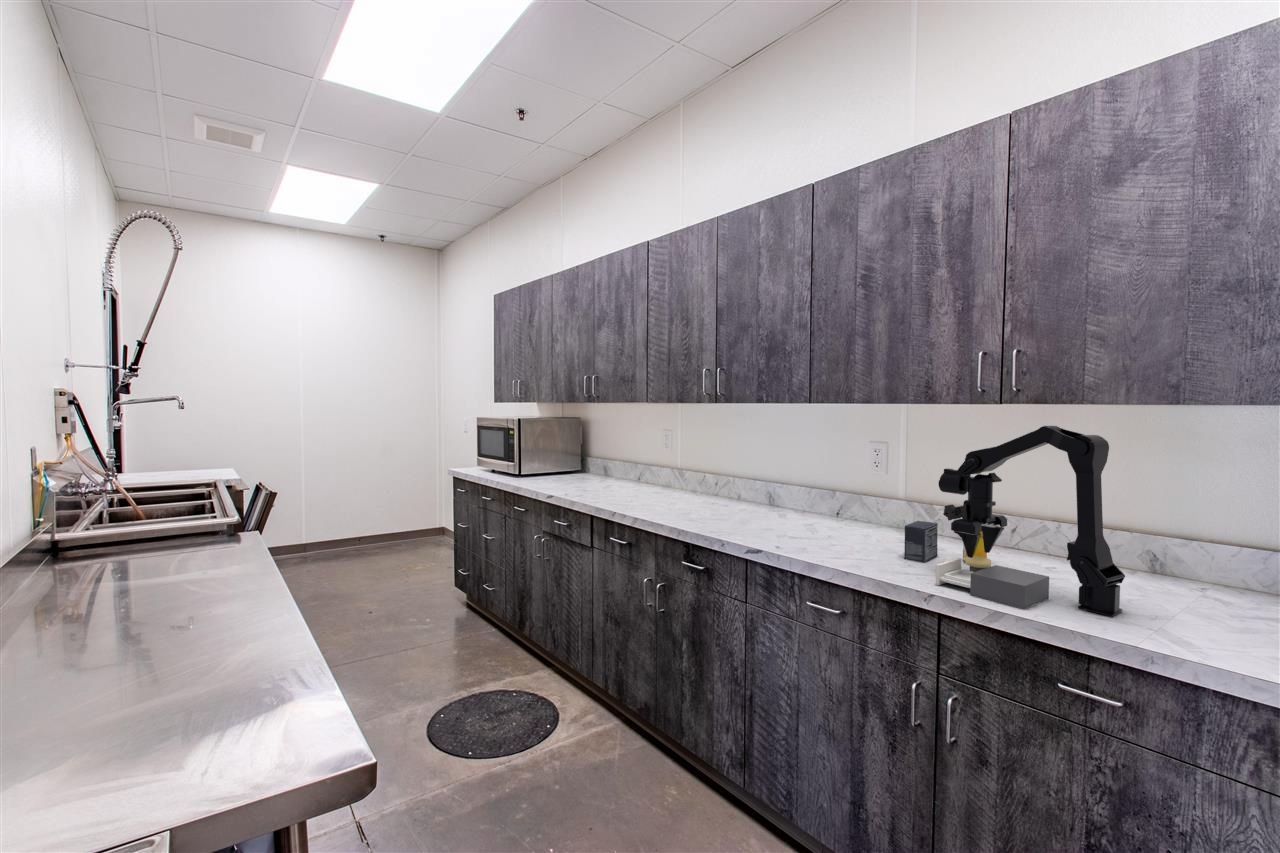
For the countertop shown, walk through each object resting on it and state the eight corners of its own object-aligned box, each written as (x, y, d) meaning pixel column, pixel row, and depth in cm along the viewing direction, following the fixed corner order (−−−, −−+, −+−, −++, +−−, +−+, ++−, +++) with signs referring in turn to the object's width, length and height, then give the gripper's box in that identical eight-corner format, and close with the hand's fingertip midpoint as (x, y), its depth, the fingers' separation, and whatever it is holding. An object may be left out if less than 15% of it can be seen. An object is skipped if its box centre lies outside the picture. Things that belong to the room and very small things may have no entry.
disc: (995, 565, 157) (995, 559, 156) (984, 569, 153) (984, 563, 153) (972, 560, 161) (972, 555, 161) (961, 564, 158) (961, 558, 158)
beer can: (989, 565, 169) (991, 514, 168) (966, 564, 170) (968, 513, 170) (982, 560, 175) (983, 510, 174) (959, 559, 176) (961, 509, 176)
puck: (989, 578, 157) (989, 565, 157) (982, 580, 155) (982, 567, 154) (973, 574, 160) (974, 562, 160) (966, 577, 158) (966, 564, 158)
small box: (916, 552, 184) (916, 519, 183) (938, 556, 179) (938, 522, 179) (902, 559, 176) (903, 524, 176) (925, 563, 172) (926, 528, 171)
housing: (1048, 598, 141) (1049, 576, 140) (1024, 609, 133) (1025, 586, 133) (995, 585, 151) (995, 565, 150) (970, 595, 143) (970, 573, 143)
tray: (1004, 588, 148) (1004, 568, 148) (982, 596, 142) (983, 575, 141) (956, 577, 158) (957, 558, 157) (934, 584, 151) (935, 564, 151)
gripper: (966, 490, 168) (965, 544, 169) (931, 496, 158) (930, 553, 158) (1008, 495, 159) (1007, 552, 160) (974, 502, 149) (973, 562, 149)
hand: (978, 554), depth 157 cm, fingers open, 9 cm apart
